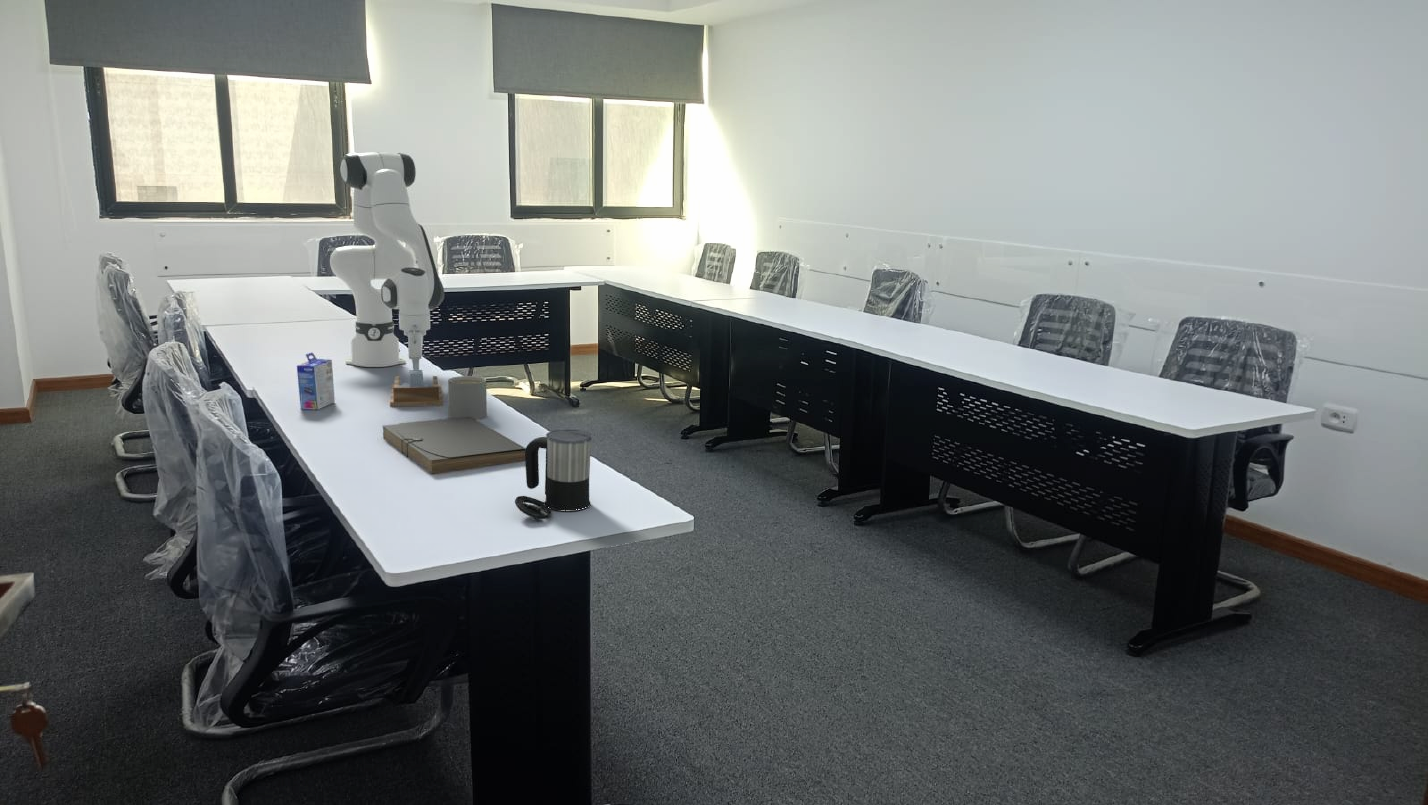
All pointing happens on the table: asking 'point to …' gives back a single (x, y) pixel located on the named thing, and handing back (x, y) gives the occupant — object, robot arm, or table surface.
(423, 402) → the wooden tray
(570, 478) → the milk frother
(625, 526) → the table surface
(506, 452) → the file folder
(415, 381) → the grey flanged pedestal
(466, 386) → the coffee mug
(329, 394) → the ink cartridge box
